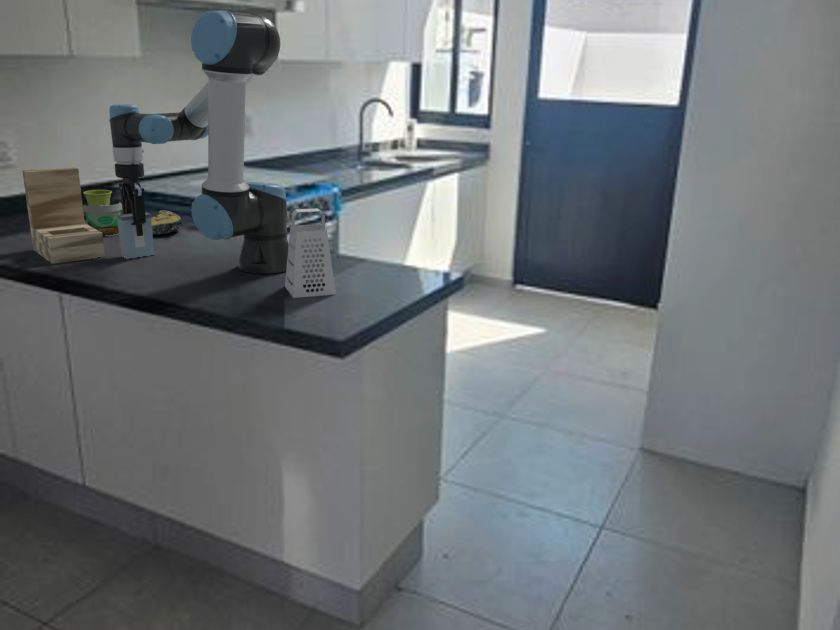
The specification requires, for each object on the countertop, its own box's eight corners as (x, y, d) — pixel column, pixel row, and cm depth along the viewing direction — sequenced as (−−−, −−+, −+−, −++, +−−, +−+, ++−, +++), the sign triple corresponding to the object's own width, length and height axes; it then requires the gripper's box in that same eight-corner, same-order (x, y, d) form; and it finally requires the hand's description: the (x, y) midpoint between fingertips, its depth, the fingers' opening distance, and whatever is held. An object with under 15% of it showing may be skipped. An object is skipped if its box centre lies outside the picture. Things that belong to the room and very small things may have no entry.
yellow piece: (192, 202, 266) (172, 219, 237) (195, 218, 268) (177, 237, 239) (151, 208, 265) (127, 226, 237) (155, 224, 267) (132, 244, 239)
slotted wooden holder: (104, 256, 215) (95, 175, 208) (52, 263, 207) (40, 179, 200) (83, 243, 230) (74, 167, 223) (33, 249, 221) (22, 170, 214)
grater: (335, 294, 185) (334, 213, 179) (293, 297, 181) (290, 215, 175) (325, 283, 194) (324, 205, 188) (284, 286, 191) (282, 207, 184)
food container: (92, 239, 236) (88, 207, 233) (85, 236, 240) (81, 204, 237) (131, 234, 244) (128, 203, 240) (124, 231, 248) (121, 201, 245)
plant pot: (119, 214, 275) (117, 190, 272) (103, 219, 266) (101, 194, 264) (97, 213, 277) (94, 189, 274) (80, 217, 268) (77, 193, 265)
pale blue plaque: (154, 255, 218) (150, 214, 214) (126, 259, 213) (121, 217, 209) (149, 252, 221) (145, 212, 217) (121, 256, 216) (117, 214, 212)
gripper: (153, 164, 205) (161, 249, 212) (131, 158, 217) (139, 238, 225) (125, 166, 200) (134, 252, 208) (104, 159, 213) (113, 241, 220)
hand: (136, 245), depth 216 cm, fingers closed on pale blue plaque, 4 cm apart
